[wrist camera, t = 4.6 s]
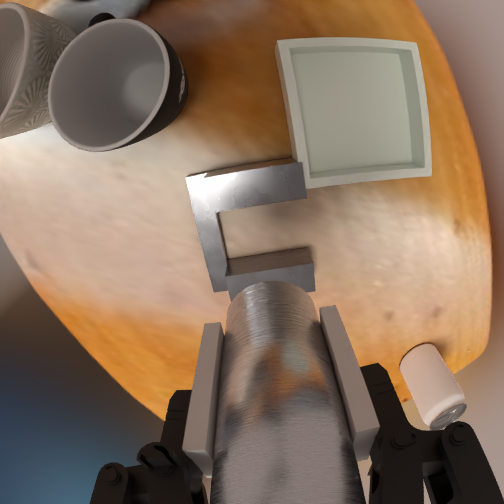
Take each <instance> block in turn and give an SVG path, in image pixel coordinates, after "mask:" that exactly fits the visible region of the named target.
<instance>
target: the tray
mask: <svg viewBox="0 0 504 504" xmlns="http://www.w3.org/2000/svg"><path fill="white" fill-rule="evenodd" d="M274 52H275V57H276V62H277V67H278V73H279V78H280V83H281V89H282V95H283V100H284V106H285V112H286V118H287V124H288V130H289V137H290V143H291V150H292V157H293V158H294V159H295V160H296V161H297V162H302V164H303V171H304V179H305V187H306V189H312V188H319V187H327V186H335V185H343V184H352V183H360V182H370V181H379V180H390V179H400V178H412V177H424V176H432V159H431V139H430V126H429V115H428V106H427V98H426V91H425V84H424V78H423V72H422V66H421V61H420V56H419V51H418V47H417V43H414V42H406V41H398V40H387V39H374V38H352V37H322V38H299V39H286V40H277V42H276V45H275V48H274Z"/></svg>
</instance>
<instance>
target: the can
mask: <svg viewBox="0 0 504 504" xmlns="http://www.w3.org/2000/svg"><path fill="white" fill-rule="evenodd" d="M400 371H401V374H402V376H403V378H404V380H405V382H406V384H407V386H408V389H409V391H410V393H411V395H412V397H413V399H414V402H415V404H416V406H417V408H418V411H419V413H420V415H421V417H422V419H423V421H424V423H425V424H426V425H428V426H429V427H430V430H440V429H442V428H444V427H446V426H448V425H449V424H451V423H453V422H454V421H456V420H457V419H458V418H459V417H460V416H461V415H462V414H463V413H464V412H465V410H466V408H467V405H466V404H465V396H464V393H463V392H462V390H461V388H460V386H459V385H458V383H457V381H456V379H455V378H454V376H453V374H452V373H451V371H450V369H449V368H448V366H447V365H446V363H445V361H444V360H443V358H442V357H441V355H440V353H439V352H438V350H437V349H436V347H435V346H434V345H432V344H421V345H418V346H416V347H414V348H413V349H411V350H410V351H409V352H408V353H407V354H406V355H405V356H404V357H403V359H402V361H401V364H400Z"/></svg>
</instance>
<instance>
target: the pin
mask: <svg viewBox="0 0 504 504" xmlns="http://www.w3.org/2000/svg"><path fill="white" fill-rule="evenodd" d="M210 504H366V501H365V496H364V491H363V487H362V482H361V478H360V474H359V469H358V464H357V460H356V456H355V451H354V447H353V443H352V439H351V435H350V431H349V427H348V423H347V419H346V415H345V411H344V407H343V404H342V400H341V396H340V392H339V389H338V385H337V381H336V378H335V374H334V370H333V367H332V363H331V360H330V356H329V353H328V349H327V346H326V342H325V339H324V335H323V332H322V329H321V325H320V322H319V319H318V315H317V312H316V309H315V305H314V303H313V301H312V299H311V297H310V296H309V295H308V294H307V293H306V292H305V291H304V290H303V289H301V288H300V287H298V286H296V285H294V284H291V283H288V282H283V281H265V282H260V283H256V284H253V285H251V286H249V287H247V288H245V289H244V290H242V291H241V292H240V293H239V294H237V296H236V297H235V298H234V299H233V300H232V302H231V304H230V306H229V308H228V312H227V320H226V329H225V339H224V349H223V358H222V368H221V379H220V389H219V399H218V410H217V421H216V432H215V444H214V456H213V468H212V482H211V494H210Z"/></svg>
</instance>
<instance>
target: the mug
mask: <svg viewBox="0 0 504 504" xmlns="http://www.w3.org/2000/svg"><path fill="white" fill-rule="evenodd" d="M187 94H188V79H187V75H186V72H185V69H184V66H183V64H182V62H181V60H180V59H179V57H178V55H177V54H176V52H175V51H174V49H173V48H172V47H171V46H170V44H169V43H168V42H167V41H166V40H165V39H164V38H163V37H162V36H161V35H160V34H159V33H158V32H157V31H156V30H154V29H153V28H151V27H150V26H148V25H147V24H145V23H143V22H140V21H137V20H133V19H127V18H117V19H116V18H115V17H114V16H113V15H111V14H109V13H100V14H98V15H96V16H95V17H93V19H92V20H91V21H90V23H89V27H88V29H86V30H84V31H83V32H82V33H80V34H79V35H78V36H77V37H75V38H74V39H73V40H72V41H71V42H70V43H69V45H68V46H67V47H66V48H65V50H64V51H63V52H62V54H61V55H60V57H59V59H58V61H57V62H56V64H55V67H54V69H53V72H52V75H51V78H50V82H49V88H48V108H49V113H50V117H51V120H52V122H53V124H54V126H55V128H56V130H57V131H58V133H59V134H60V135H61V137H62V138H63V139H64V140H66V141H67V142H68V143H69V144H71V145H73V146H74V147H77V148H79V149H82V150H86V151H93V152H103V151H110V150H114V149H118V148H122V147H125V146H128V145H131V144H134V143H136V142H139V141H141V140H143V139H146V138H148V137H150V136H152V135H154V134H156V133H157V132H159V131H161V130H162V129H164V128H165V127H167V126H168V125H169V124H170V123H171V122H172V121H173V120H174V119H175V118H176V117H177V116H178V115H179V113H180V112H181V110H182V108H183V107H184V104H185V102H186V99H187Z"/></svg>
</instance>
